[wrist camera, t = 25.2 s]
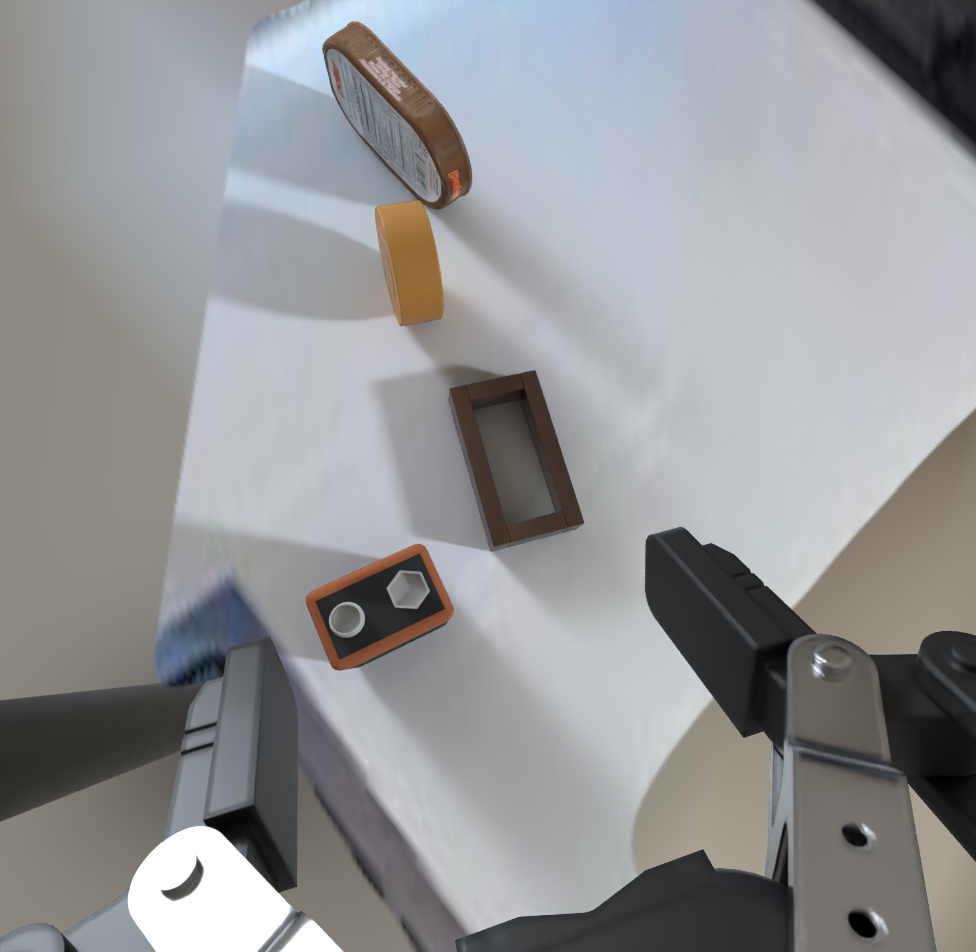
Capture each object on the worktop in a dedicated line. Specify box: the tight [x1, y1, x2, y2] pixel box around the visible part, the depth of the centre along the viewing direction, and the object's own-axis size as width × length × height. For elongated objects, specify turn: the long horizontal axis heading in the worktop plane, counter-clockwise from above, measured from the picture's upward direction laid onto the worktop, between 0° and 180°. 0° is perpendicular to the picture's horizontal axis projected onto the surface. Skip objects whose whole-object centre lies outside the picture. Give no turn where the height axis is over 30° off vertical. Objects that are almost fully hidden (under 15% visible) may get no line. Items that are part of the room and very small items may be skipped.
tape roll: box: [375, 200, 444, 326], centre depth 43 cm, size 3×8×8 cm
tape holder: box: [449, 370, 584, 551], centre depth 43 cm, size 6×12×2 cm, turn 15°
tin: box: [322, 21, 472, 209], centre depth 46 cm, size 15×3×8 cm, turn 41°
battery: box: [306, 544, 454, 670], centre depth 36 cm, size 4×7×10 cm, turn 116°
